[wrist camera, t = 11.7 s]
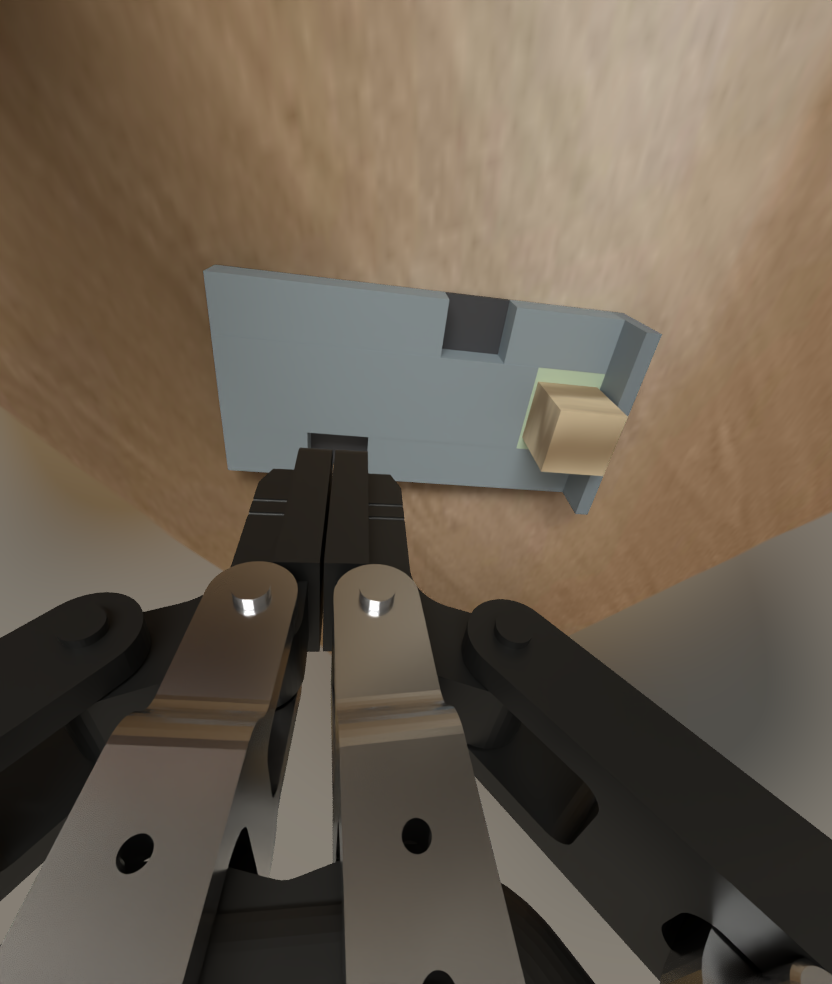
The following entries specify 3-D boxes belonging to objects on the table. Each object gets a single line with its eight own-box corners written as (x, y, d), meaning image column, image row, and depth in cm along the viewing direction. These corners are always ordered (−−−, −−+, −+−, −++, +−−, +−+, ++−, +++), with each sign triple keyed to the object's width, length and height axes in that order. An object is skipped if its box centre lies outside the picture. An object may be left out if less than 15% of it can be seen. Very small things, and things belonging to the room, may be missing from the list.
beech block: (538, 381, 33) (561, 410, 29) (597, 387, 33) (628, 416, 29) (522, 437, 35) (541, 471, 31) (577, 442, 36) (603, 476, 32)
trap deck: (214, 264, 29) (185, 279, 25) (623, 313, 33) (661, 334, 28) (236, 454, 37) (216, 492, 33) (564, 477, 40) (587, 514, 36)
